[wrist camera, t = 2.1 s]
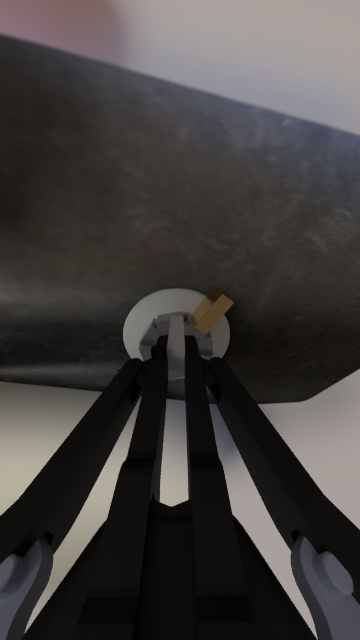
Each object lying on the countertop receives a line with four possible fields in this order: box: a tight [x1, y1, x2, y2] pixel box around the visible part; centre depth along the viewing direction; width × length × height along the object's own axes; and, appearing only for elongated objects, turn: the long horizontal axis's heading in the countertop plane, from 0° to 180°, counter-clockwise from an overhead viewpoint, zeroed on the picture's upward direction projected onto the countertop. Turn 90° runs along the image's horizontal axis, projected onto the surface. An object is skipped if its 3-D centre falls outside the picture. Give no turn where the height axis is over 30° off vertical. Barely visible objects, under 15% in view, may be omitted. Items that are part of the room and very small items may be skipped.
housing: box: [123, 288, 230, 379], centre depth 29 cm, size 22×22×8 cm
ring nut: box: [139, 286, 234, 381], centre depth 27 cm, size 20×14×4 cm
